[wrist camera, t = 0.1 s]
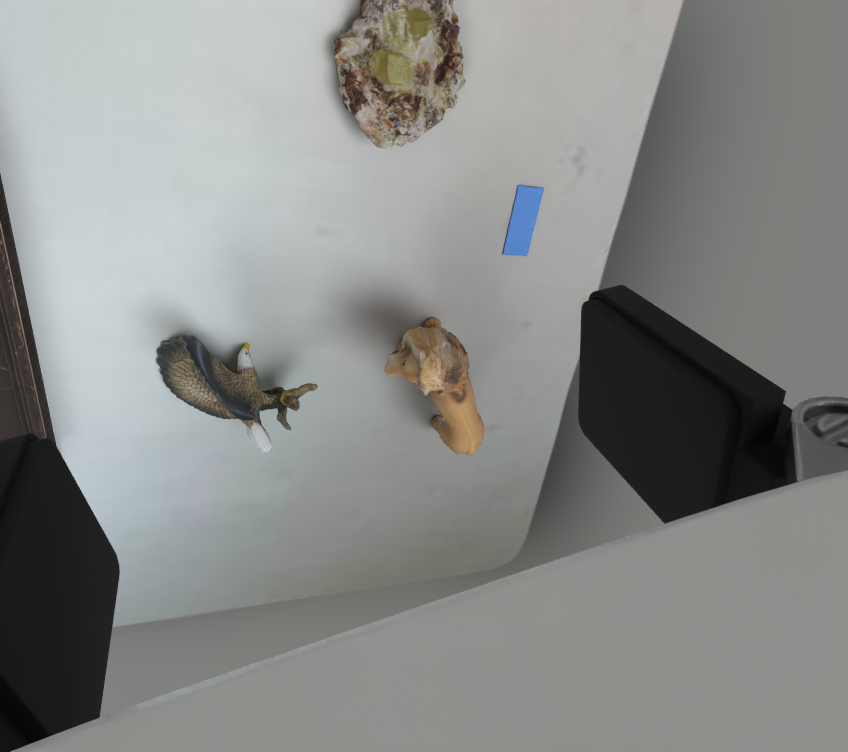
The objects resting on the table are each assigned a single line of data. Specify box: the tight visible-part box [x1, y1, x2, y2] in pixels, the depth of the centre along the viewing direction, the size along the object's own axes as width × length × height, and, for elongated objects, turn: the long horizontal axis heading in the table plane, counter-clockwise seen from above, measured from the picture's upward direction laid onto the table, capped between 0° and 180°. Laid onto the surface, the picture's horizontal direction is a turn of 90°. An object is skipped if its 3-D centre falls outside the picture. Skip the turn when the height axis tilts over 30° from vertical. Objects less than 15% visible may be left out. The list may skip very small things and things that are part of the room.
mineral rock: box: [334, 0, 465, 148], centre depth 36 cm, size 11×4×8 cm
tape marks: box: [503, 185, 544, 256], centre depth 40 cm, size 24×2×1 cm, turn 171°
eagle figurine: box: [157, 335, 318, 453], centre depth 41 cm, size 8×7×9 cm
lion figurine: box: [385, 318, 484, 455], centre depth 45 cm, size 15×5×9 cm, turn 29°
